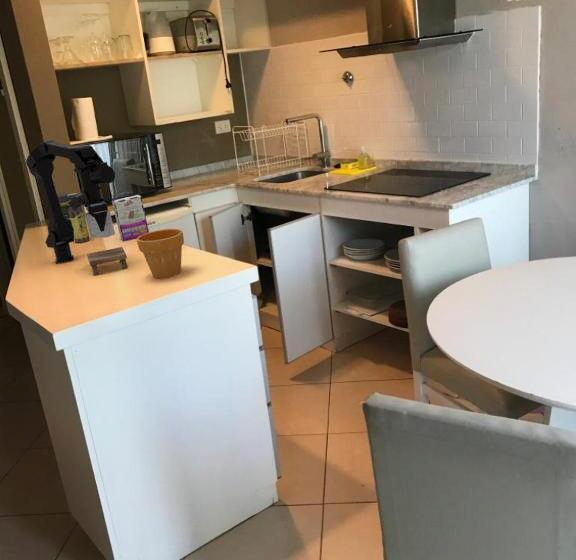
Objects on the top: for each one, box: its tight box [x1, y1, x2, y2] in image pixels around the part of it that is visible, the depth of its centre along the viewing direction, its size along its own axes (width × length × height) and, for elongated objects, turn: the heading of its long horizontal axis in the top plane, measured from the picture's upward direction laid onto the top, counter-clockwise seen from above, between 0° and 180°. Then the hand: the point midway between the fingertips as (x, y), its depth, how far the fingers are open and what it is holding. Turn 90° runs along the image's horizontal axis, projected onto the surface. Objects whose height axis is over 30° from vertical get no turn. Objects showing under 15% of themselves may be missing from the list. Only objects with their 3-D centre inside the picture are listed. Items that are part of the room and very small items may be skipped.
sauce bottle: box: [67, 193, 90, 244], centre depth 258 cm, size 6×6×20 cm
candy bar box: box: [111, 194, 150, 242], centre depth 253 cm, size 11×5×16 cm, turn 118°
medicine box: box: [84, 209, 116, 238], centre depth 214 cm, size 8×4×9 cm, turn 59°
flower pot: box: [136, 228, 185, 279], centre depth 197 cm, size 14×14×13 cm
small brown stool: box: [86, 246, 128, 276], centre depth 214 cm, size 12×12×5 cm
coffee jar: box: [57, 192, 70, 220], centre depth 273 cm, size 10×8×19 cm
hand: (101, 229), depth 215 cm, fingers closed on medicine box, 9 cm apart
